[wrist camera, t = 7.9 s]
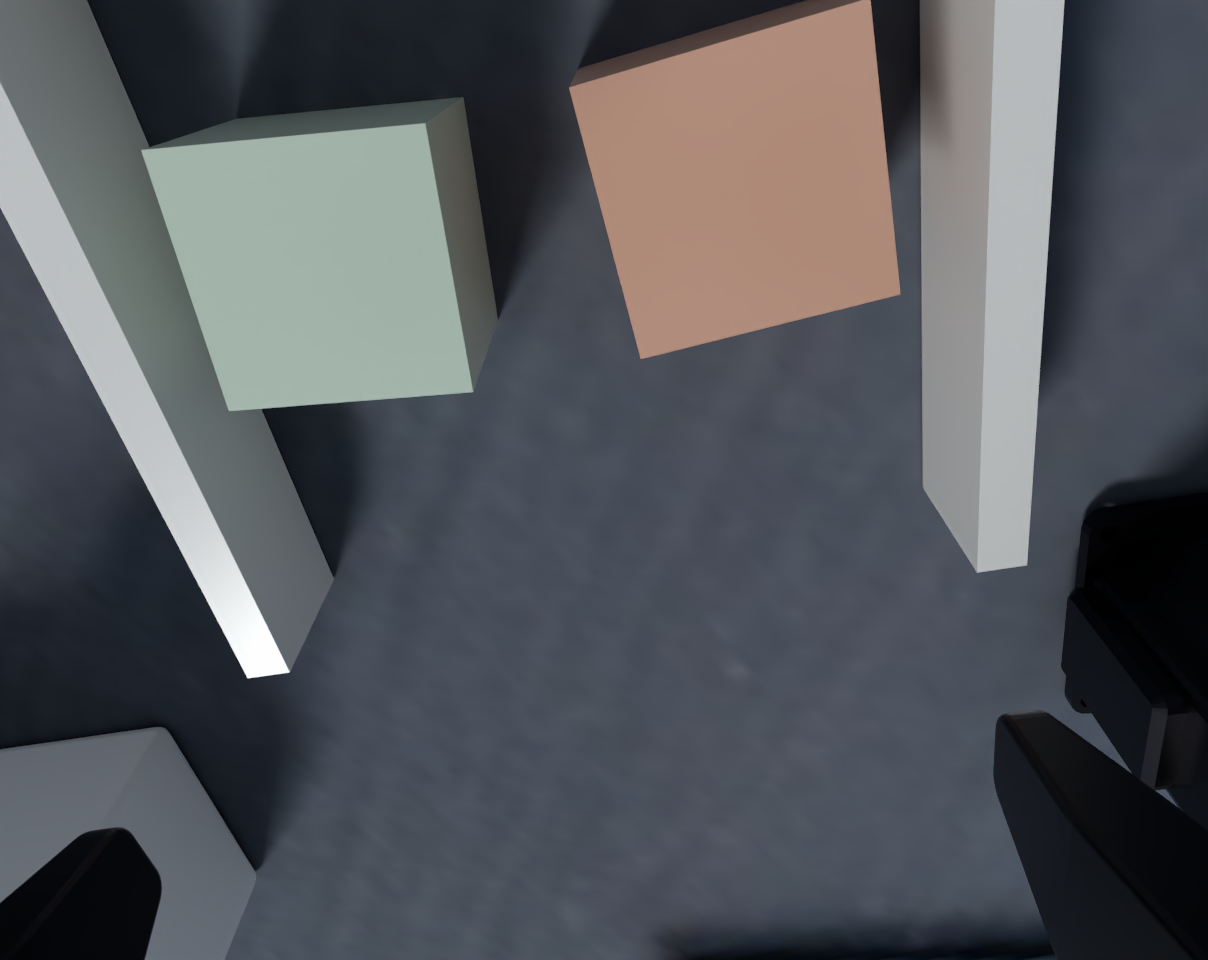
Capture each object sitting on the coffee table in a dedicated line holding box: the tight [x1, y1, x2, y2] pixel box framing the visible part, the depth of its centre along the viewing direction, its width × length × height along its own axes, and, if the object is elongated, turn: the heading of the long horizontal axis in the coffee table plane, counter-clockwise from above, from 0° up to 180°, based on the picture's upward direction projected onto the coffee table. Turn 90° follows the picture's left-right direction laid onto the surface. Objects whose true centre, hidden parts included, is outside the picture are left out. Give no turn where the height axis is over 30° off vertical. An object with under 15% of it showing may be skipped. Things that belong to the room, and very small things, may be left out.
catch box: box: [0, 0, 1065, 678], centre depth 16 cm, size 17×16×4 cm
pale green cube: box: [141, 97, 498, 411], centre depth 16 cm, size 4×4×4 cm
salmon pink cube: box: [569, 0, 900, 359], centre depth 15 cm, size 4×4×4 cm
